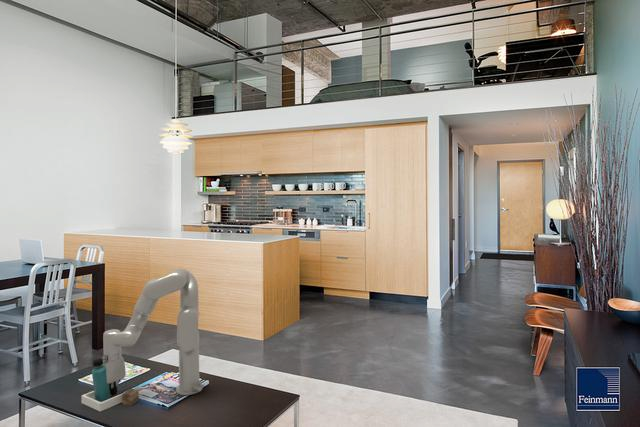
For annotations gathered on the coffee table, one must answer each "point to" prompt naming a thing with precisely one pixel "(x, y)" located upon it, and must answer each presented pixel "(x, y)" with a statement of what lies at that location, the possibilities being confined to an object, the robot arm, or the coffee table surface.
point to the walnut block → (130, 397)
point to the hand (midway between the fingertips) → (113, 394)
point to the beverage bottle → (100, 381)
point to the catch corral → (100, 406)
